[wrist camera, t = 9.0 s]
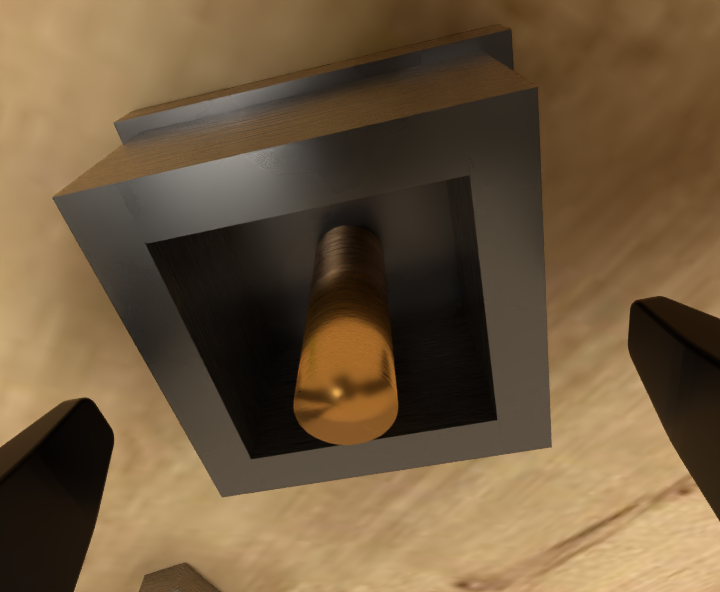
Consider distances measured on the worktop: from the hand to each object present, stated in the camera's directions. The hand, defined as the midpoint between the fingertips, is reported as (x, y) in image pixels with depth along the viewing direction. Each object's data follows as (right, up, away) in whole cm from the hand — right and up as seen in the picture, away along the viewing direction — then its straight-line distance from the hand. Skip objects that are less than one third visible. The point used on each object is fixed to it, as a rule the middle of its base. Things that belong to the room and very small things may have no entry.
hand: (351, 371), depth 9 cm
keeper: (0, +3, +5) cm, 5 cm away
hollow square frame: (0, +2, +4) cm, 4 cm away
